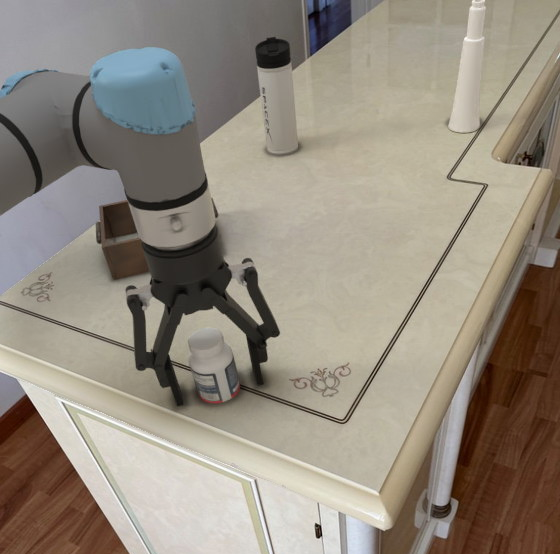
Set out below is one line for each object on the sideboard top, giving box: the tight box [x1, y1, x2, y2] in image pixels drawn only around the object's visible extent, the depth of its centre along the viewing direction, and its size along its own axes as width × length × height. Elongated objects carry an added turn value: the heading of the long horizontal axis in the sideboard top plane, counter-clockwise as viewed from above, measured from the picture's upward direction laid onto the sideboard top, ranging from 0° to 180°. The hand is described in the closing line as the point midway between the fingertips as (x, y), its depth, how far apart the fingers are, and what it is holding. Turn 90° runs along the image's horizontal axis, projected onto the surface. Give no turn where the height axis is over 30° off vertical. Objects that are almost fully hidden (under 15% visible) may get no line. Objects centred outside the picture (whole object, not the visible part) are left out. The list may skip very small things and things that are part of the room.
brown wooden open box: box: [95, 196, 219, 281], centre depth 94 cm, size 19×13×7 cm
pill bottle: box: [187, 326, 241, 404], centre depth 69 cm, size 5×5×9 cm
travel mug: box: [254, 36, 299, 157], centre depth 111 cm, size 6×7×20 cm
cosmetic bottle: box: [447, 0, 487, 134], centre depth 110 cm, size 6×6×22 cm
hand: (219, 390), depth 72 cm, fingers open, 9 cm apart
